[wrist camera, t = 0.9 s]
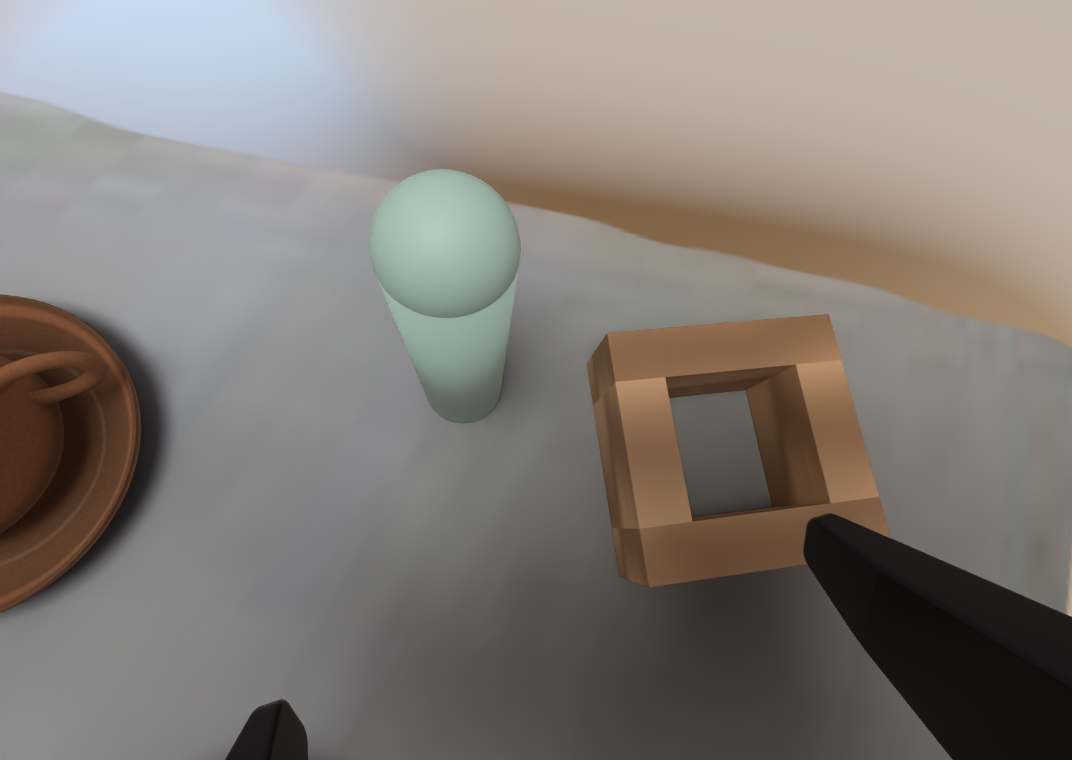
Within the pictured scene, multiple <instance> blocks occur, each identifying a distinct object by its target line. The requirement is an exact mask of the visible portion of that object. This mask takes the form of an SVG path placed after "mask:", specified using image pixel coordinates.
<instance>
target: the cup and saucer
mask: <svg viewBox="0 0 1072 760" xmlns="http://www.w3.org/2000/svg"><path fill="white" fill-rule="evenodd" d="M140 439H141V415H140V408H139V402H138V398H137V394H136V390H135V387H134V384H133V382H132V379H131V377H130V374H129V372H128V371H127V369H126V367H125V365H124V363H123V362H122V360H121V359H120V357H119V356H118V355H117V353H116V352H115V350H114V349H113V348H112V347H111V346H110V345H109V344H108V343H107V342H106V340H105V339H104V338H103V337H102V336H101V335H99V334H98V333H97V332H96V331H95V330H94V329H92V328H91V327H90V326H89V325H87V324H86V323H84V322H83V321H82V320H80V319H79V318H77V317H75V316H74V315H72V314H70V313H68V312H66V311H64V310H62V309H60V308H57V307H55V306H52V305H50V304H47V303H44V302H40V301H37V300H33V299H28V298H23V297H18V296H9V295H0V613H1V612H3V611H5V610H7V609H9V608H11V607H13V606H15V605H17V604H19V603H21V602H23V601H25V600H26V599H28V598H30V597H31V596H33V595H35V594H36V593H38V592H40V591H41V590H42V589H44V588H45V587H47V586H48V585H50V584H51V583H52V582H54V581H55V580H57V579H58V578H59V577H60V576H61V575H63V574H64V573H65V572H66V571H67V570H69V569H70V568H71V567H72V566H73V565H74V564H75V563H76V562H77V561H78V560H79V559H80V558H81V557H82V556H83V555H84V554H85V553H86V552H87V551H88V550H89V549H90V548H91V547H92V545H93V544H94V543H95V542H96V541H97V540H98V539H99V537H100V536H101V534H102V533H103V532H104V530H105V529H106V528H107V526H108V525H109V524H110V522H111V520H112V519H113V517H114V515H115V514H116V512H117V511H118V509H119V507H120V505H121V503H122V501H123V499H124V497H125V495H126V493H127V491H128V488H129V485H130V483H131V480H132V478H133V474H134V471H135V467H136V464H137V460H138V454H139V448H140Z"/></svg>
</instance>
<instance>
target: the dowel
mask: <svg viewBox="0 0 1072 760" xmlns="http://www.w3.org/2000/svg"><path fill="white" fill-rule="evenodd" d="M369 250H370V258H371V261H372V265H373V269H374V272H375V274H376V277H377V279H378V281H379V284H380V286H381V288H382V291H383V293H384V296H385V298H386V300H387V303H388V305H389V308H390V310H391V312H392V315H393V317H394V319H395V322H396V324H397V327H398V329H399V331H400V334H401V336H402V338H403V341H404V343H405V346H406V348H407V350H408V353H409V355H410V358H411V360H412V362H413V365H414V367H415V369H416V372H417V374H418V377H419V379H420V381H421V384H422V386H423V389H424V391H425V393H426V396H427V398H428V400H429V403H430V405H431V406H432V408H433V409H434V410H435V411H436V412H437V413H438V414H439V415H440V416H442V417H443V418H445V419H447V420H449V421H452V422H456V423H470V422H474V421H477V420H480V419H482V418H483V417H485V416H486V415H488V414H489V413H490V412H491V411H492V410H493V409H494V407H495V406H496V404H497V402H498V400H499V397H500V393H501V386H502V380H503V373H504V366H505V359H506V352H507V345H508V339H509V332H510V325H511V318H512V311H513V305H514V298H515V291H516V284H517V277H518V270H519V264H520V254H521V246H520V236H519V231H518V227H517V224H516V221H515V218H514V216H513V214H512V213H511V211H510V209H509V207H508V205H507V204H506V203H505V201H504V200H503V199H502V198H501V196H500V195H499V194H498V193H497V192H496V191H495V190H494V189H492V188H491V187H490V186H489V185H488V184H486V183H485V182H483V181H482V180H480V179H478V178H476V177H474V176H472V175H469V174H466V173H463V172H459V171H455V170H447V169H444V170H443V169H438V170H429V171H424V172H421V173H418V174H415V175H413V176H411V177H409V178H407V179H405V180H403V181H402V182H400V183H399V184H397V185H396V186H395V187H394V188H393V189H392V190H391V191H390V192H389V193H388V194H387V195H386V196H385V198H384V199H383V201H382V202H381V204H380V205H379V207H378V209H377V211H376V213H375V215H374V218H373V222H372V225H371V230H370V239H369Z"/></svg>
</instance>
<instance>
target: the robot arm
mask: <svg viewBox="0 0 1072 760" xmlns="http://www.w3.org/2000/svg"><path fill="white" fill-rule="evenodd" d="M803 555H804V558H805V561H806V563H807V564H808V566H809V568H810V569H811V571H812V572H813V574H814V575H815V577H816V578H817V580H818V581H819V583H820V584H821V586H822V587H823V589H824V590H825V592H826V593H827V595H828V596H829V598H830V599H831V601H832V603H833V604H834V606H835V607H836V609H837V610H838V612H839V613H840V615H841V616H842V618H843V619H844V621H845V622H846V624H847V625H848V627H849V628H850V630H851V631H852V633H853V634H854V636H855V637H856V638H857V640H858V641H859V643H860V644H861V645H862V647H863V648H864V649H865V650H866V652H867V653H868V654H869V656H870V657H871V658H872V659H873V661H874V662H875V663H876V664H877V666H878V667H879V668H880V669H881V671H882V672H883V673H884V674H885V676H886V677H887V678H888V679H889V681H890V682H891V683H892V684H893V686H894V687H895V688H896V689H897V691H898V692H899V693H900V694H901V696H902V697H903V698H904V699H905V701H906V702H907V703H908V704H909V706H910V707H911V708H912V709H913V711H914V712H915V713H916V714H917V716H918V717H919V718H920V719H921V721H922V722H923V723H924V724H925V726H926V727H927V728H928V729H929V731H930V732H931V733H932V734H933V736H934V737H935V738H936V739H937V741H938V742H939V743H940V744H941V746H942V747H943V748H944V749H945V751H946V752H947V753H948V754H949V756H950V757H951V758H952V759H953V760H1072V617H1071V616H1069V615H1066V614H1064V613H1062V612H1059V611H1057V610H1055V609H1052V608H1050V607H1048V606H1046V605H1043V604H1041V603H1039V602H1036V601H1034V600H1032V599H1029V598H1027V597H1025V596H1023V595H1020V594H1018V593H1016V592H1013V591H1011V590H1009V589H1006V588H1004V587H1002V586H1000V585H997V584H995V583H993V582H990V581H988V580H986V579H983V578H981V577H979V576H977V575H974V574H972V573H970V572H967V571H965V570H963V569H960V568H958V567H956V566H954V565H951V564H949V563H947V562H944V561H942V560H940V559H937V558H935V557H933V556H931V555H928V554H926V553H924V552H921V551H919V550H917V549H914V548H912V547H910V546H908V545H905V544H903V543H901V542H898V541H896V540H894V539H891V538H889V537H887V536H885V535H882V534H880V533H878V532H875V531H873V530H871V529H868V528H866V527H864V526H862V525H859V524H857V523H855V522H852V521H850V520H848V519H845V518H843V517H841V516H839V515H836V514H832V513H826V514H823V515H820V516H817V517H814V518H811V519H810V520H809V521H808V522H807V526H806V533H805V539H804V545H803ZM225 760H308V743H307V735H306V731H305V728H304V726H303V724H302V723H301V721H300V720H299V718H298V717H297V715H296V714H295V712H294V711H293V709H292V708H291V706H290V705H289V703H288V702H287V701H285V700H283V699H281V700H277V701H274V702H271V703H268V704H265V705H263V706H260V707H258V708H257V709H255V710H254V711H253V713H252V714H251V715H250V717H249V719H248V721H247V722H246V724H245V726H244V728H243V729H242V731H241V733H240V735H239V736H238V738H237V740H236V742H235V743H234V745H233V747H232V749H231V750H230V752H229V754H228V756H227V757H226V759H225Z"/></svg>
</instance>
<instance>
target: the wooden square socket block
mask: <svg viewBox="0 0 1072 760" xmlns="http://www.w3.org/2000/svg"><path fill="white" fill-rule="evenodd" d="M587 367H588V374H589V380H590V387H591V393H592V400H593V406H594V413H595V419H596V426H597V432H598V439H599V446H600V452H601V459H602V465H603V472H604V478H605V485H606V491H607V498H608V504H609V511H610V517H611V524H612V531H613V537H614V544H615V550H616V557H617V563H618V570H619V576H620V577H622V578H625V579H627V580H630V581H633V582H636V583H638V584H641V585H644V586H646V587H656V586H663V585H670V584H677V583H683V582H690V581H697V580H704V579H710V578H717V577H724V576H731V575H737V574H744V573H751V572H758V571H765V570H771V569H778V568H785V567H792V566H798V565H805V564H807V563H806V561H805V558H804V555H803V545H804V539H805V533H806V526H807V522H808V521H809V520H810V519H811V518H814V517H817V516H820V515H823V514H826V513H832V514H836V515H839V516H841V517H843V518H845V519H848V520H850V521H852V522H855V523H857V524H859V525H862V526H864V527H866V528H868V529H871V530H873V531H875V532H878V533H880V534H882V535H885V536H887V537H889V538H890V535H889V531H888V527H887V524H886V520H885V516H884V513H883V509H882V506H881V502H880V498H879V495H878V491H877V487H876V484H875V480H874V477H873V473H872V469H871V466H870V462H869V458H868V455H867V451H866V448H865V444H864V440H863V437H862V433H861V429H860V426H859V422H858V418H857V415H856V411H855V408H854V404H853V400H852V397H851V393H850V389H849V386H848V382H847V379H846V375H845V371H844V368H843V364H842V360H841V357H840V353H839V350H838V346H837V342H836V339H835V335H834V331H833V328H832V324H831V321H830V317H829V314H825V315H813V316H801V317H789V318H778V319H766V320H754V321H742V322H731V323H719V324H707V325H695V326H684V327H672V328H660V329H648V330H637V331H625V332H613V333H607V334H606V336H605V337H604V339H603V340H602V342H601V343H600V345H599V346H598V348H597V349H596V351H595V352H594V354H593V355H592V357H591V359H590V360H589V362H588V363H587ZM739 390H746V391H747V396H748V400H749V404H750V409H751V413H752V418H753V422H754V426H755V431H756V435H757V440H758V444H759V449H760V453H761V457H762V462H763V466H764V471H765V475H766V479H767V484H768V488H769V493H770V497H771V501H772V506H773V507H768V508H761V509H753V510H746V511H738V512H731V513H723V514H715V515H708V516H700V517H693V518H692V516H691V511H690V506H689V500H688V495H687V490H686V484H685V479H684V474H683V469H682V463H681V458H680V453H679V448H678V442H677V437H676V432H675V426H674V421H673V416H672V411H671V405H670V400H669V398H671V397H681V396H691V395H700V394H710V393H720V392H730V391H739Z"/></svg>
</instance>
